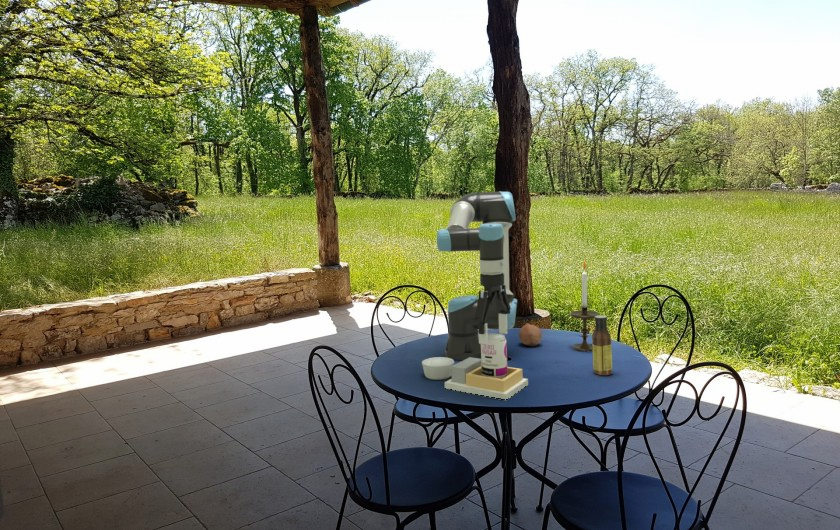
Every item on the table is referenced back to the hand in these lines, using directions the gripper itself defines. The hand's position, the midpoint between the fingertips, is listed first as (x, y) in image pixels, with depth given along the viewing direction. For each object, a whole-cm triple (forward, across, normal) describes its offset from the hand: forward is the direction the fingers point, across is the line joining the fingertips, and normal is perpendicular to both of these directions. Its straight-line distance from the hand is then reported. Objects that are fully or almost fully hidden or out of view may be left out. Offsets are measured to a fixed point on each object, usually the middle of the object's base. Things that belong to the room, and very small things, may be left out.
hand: (493, 338), depth 172 cm
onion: (+18, +52, +11) cm, 56 cm away
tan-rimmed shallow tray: (+16, -1, +3) cm, 17 cm away
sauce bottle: (+17, +30, -25) cm, 43 cm away
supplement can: (+14, -1, 0) cm, 14 cm away
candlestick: (+18, +57, -10) cm, 61 cm away
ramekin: (+17, +1, +23) cm, 28 cm away
